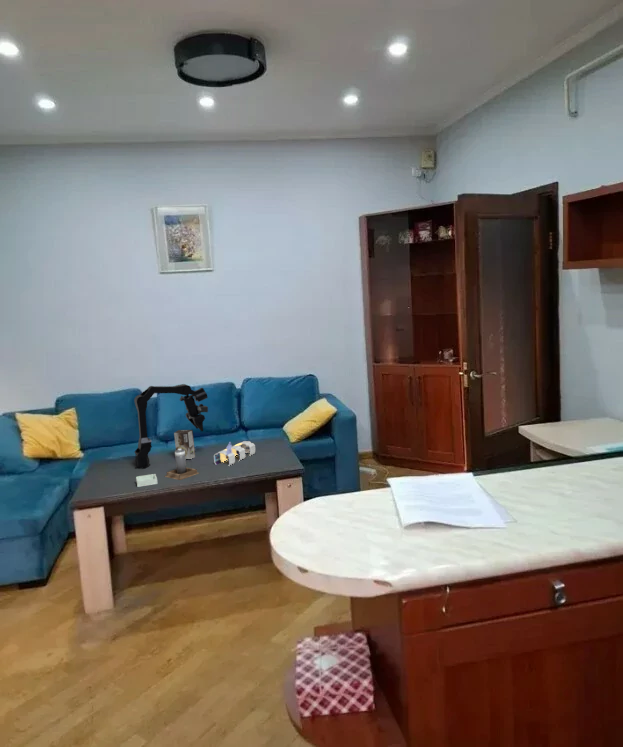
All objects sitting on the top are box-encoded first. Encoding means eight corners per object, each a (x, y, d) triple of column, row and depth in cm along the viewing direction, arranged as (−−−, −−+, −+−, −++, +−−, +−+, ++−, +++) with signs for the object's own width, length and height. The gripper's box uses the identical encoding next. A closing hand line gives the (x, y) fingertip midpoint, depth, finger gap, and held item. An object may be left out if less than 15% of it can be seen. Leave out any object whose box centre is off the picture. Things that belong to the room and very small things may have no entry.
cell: (175, 476, 306) (172, 450, 304) (179, 473, 311) (176, 447, 309) (184, 476, 305) (182, 450, 303) (188, 473, 310) (186, 447, 308)
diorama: (229, 467, 318) (227, 443, 316) (214, 466, 323) (212, 442, 321) (255, 455, 340) (254, 432, 338) (241, 453, 345) (239, 431, 343)
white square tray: (136, 482, 301) (135, 476, 301) (155, 479, 304) (155, 473, 304) (137, 487, 292) (137, 482, 292) (157, 484, 295) (157, 478, 295)
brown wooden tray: (164, 477, 307) (163, 472, 307) (183, 470, 317) (183, 465, 317) (180, 481, 299) (179, 476, 298) (200, 473, 309) (199, 469, 308)
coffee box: (195, 456, 343) (193, 429, 341) (190, 460, 337) (188, 432, 335) (181, 456, 345) (178, 429, 343) (176, 459, 339) (173, 432, 337)
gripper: (208, 401, 334) (217, 426, 338) (198, 397, 350) (207, 421, 354) (190, 409, 329) (199, 434, 333) (181, 404, 346) (190, 429, 349)
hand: (200, 429), depth 343 cm, fingers open, 9 cm apart
